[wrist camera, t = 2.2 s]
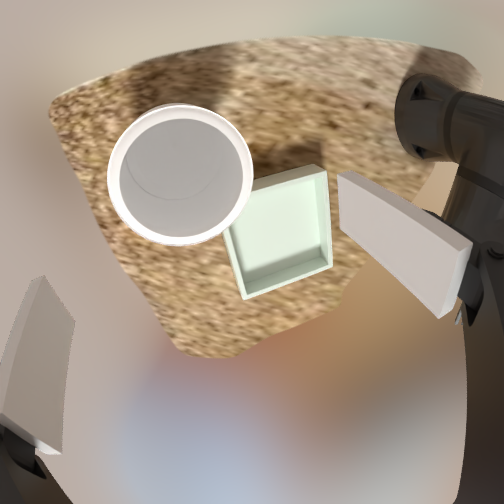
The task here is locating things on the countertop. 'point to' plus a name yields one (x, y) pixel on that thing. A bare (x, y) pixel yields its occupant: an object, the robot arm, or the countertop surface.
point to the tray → (281, 231)
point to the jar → (180, 175)
